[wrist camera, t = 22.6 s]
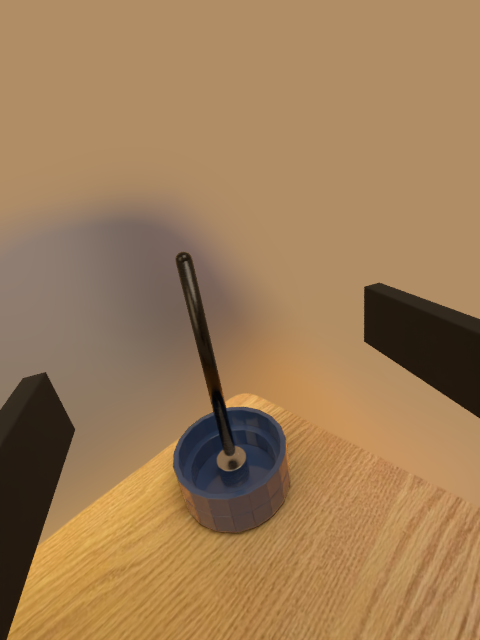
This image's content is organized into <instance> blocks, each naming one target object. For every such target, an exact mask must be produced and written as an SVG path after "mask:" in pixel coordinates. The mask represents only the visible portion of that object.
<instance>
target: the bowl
mask: <svg viewBox="0 0 480 640" xmlns="http://www.w3.org/2000/svg"><path fill="white" fill-rule="evenodd" d="M226 409H227V414H228V418H229V423H230V427H231V431H232V436H233V440H234V444H235V446H238V447H241V448H242V449H243V450H244V451H245V453H246V457H247V461H248V466H249V471H250V475H249V478H248V480H247V481H246V482H245V483H244V484H243V485H241V486H239V487H234V488H232V487H228V486H226V485H225V484H224V483H223V482H222V480H221V476H220V473H219V469H218V465H217V456H218V454H219V453H220V452H221V451H222V450H223V448H222V444H221V440H220V436H219V432H218V428H217V424H216V420H215V416H214V412H212V413H210V414H208V415H206V416H204V417H202V418H200V419H199V420H198V421H196V422H195V423H194V424H192V425H191V426H190V427H189V428H188V429H187V430H186V431H185V433H184V434H183V435H182V436H181V438H180V439H179V441H178V444H177V446H176V449H175V451H174V460H173V468H174V471H175V474H176V477H177V480H178V482H179V485H180V488H181V491H182V494H183V496H184V499H185V502H186V504H187V507H188V510H189V512H190V514H191V515H192V516H193V517H194V518H195V519H196V520H197V521H198V522H199V523H200V524H201V525H203V526H205V527H208V528H210V529H212V530H214V531H217V532H233V533H236V532H241V531H244V530H248V529H251V528H255V527H257V526H259V525H260V524H262V523H263V522H265V521H266V520H268V519H269V518H271V517H272V516H273V515H274V514H275V513H276V511H277V510H278V509H279V507H280V506H281V505H282V504H283V502H284V500H285V498H286V495H287V492H288V489H289V487H290V467H289V459H288V452H287V444H286V438H285V435H284V433H283V430H282V428H281V426H280V425H279V424H278V423H277V422H276V421H275V419H274V418H273V417H272V416H270V415H268V414H266V413H264V412H262V411H260V410H258V409H253V408H248V407H229V408H226Z"/></svg>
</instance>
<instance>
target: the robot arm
mask: <svg viewBox="0 0 480 640" xmlns="http://www.w3.org/2000/svg"><path fill="white" fill-rule="evenodd" d="M364 288H365V289H364V342H366V343H368V344H369V345H370V346H372V347H373V348H375V349H376V350H378V351H379V352H381V353H382V354H384V355H385V356H387V357H388V358H390V359H392V360H393V361H395V362H396V363H398V364H399V365H400V366H402V367H403V368H405V369H407V370H408V371H409V372H411V373H412V374H414V375H416V376H417V377H419V378H420V379H422V380H423V381H425V382H426V383H427V384H429V385H430V386H432V387H434V388H435V389H437V390H438V391H440V392H441V393H442V394H444V395H446V396H447V397H449V398H450V399H452V400H453V401H455V402H456V403H458V404H459V405H461V406H462V407H464V408H465V409H467V410H468V411H470V412H471V413H473V414H474V415H476V416H477V417H479V418H480V319H478V318H475V317H472V316H470V315H466V314H464V313H461V312H458V311H456V310H453V309H450V308H448V307H445V306H442V305H439V304H437V303H433V302H431V301H428V300H426V299H423V298H420V297H417V296H415V295H412V294H409V293H406V292H404V291H401V290H398V289H395V288H393V287H390V286H387V285H384V284H382V283H377V284H373V285H369V286H366V287H364ZM74 432H75V428H74V426H73V424H72V423H71V421H70V419H69V417H68V415H67V413H66V411H65V409H64V407H63V405H62V403H61V401H60V399H59V397H58V395H57V393H56V391H55V389H54V388H53V386H52V384H51V382H50V380H49V378H48V376H47V374H46V372H45V373H41V374H37V375H34V376H30V377H26V378H23V379H22V380H21V382H20V383H19V385H18V386H17V387H16V389H15V390H14V391H13V393H12V394H11V396H10V397H9V398H8V400H7V401H6V403H5V404H4V405H3V407H2V409H1V410H0V640H7V637H8V634H9V631H10V627H11V624H12V621H13V618H14V615H15V612H16V609H17V606H18V603H19V600H20V597H21V594H22V591H23V588H24V585H25V582H26V578H27V575H28V572H29V569H30V566H31V563H32V560H33V557H34V554H35V551H36V548H37V545H38V542H39V539H40V536H41V533H42V530H43V526H44V523H45V520H46V517H47V514H48V511H49V508H50V505H51V502H52V499H53V496H54V493H55V489H56V487H57V484H58V480H59V478H60V474H61V471H62V468H63V465H64V462H65V459H66V456H67V453H68V450H69V447H70V444H71V441H72V438H73V435H74Z"/></svg>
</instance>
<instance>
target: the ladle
mask: <svg viewBox="0 0 480 640" xmlns="http://www.w3.org/2000/svg"><path fill="white" fill-rule="evenodd" d="M176 265H177V269H178V273H179V277H180V281H181V284H182V289H183V293H184V297H185V300H186V305H187V309H188V313H189V316H190V320H191V324H192V328H193V332H194V336H195V340H196V344H197V348H198V352H199V356H200V360H201V364H202V368H203V372H204V376H205V380H206V384H207V388H208V391H209V395H210V399H211V404H212V408H213V412H214V416H215V420H216V424H217V428H218V432H219V436H220V440H221V444H222V448H223V450H222V451H221V452H220V453H219V454H218V456H217V465H218V469H219V473H220V476H221V480H222V482H223V483H224V484H225V485H226V486H228V487H232V488H234V487H239V486H241V485H243V484H244V483H245V482H246V481H247V480H248V478H249V475H250V471H249V466H248V461H247V457H246V453H245V451H244V450H243V449H242V448H241V447H238V446H235V444H234V440H233V436H232V431H231V427H230V423H229V418H228V414H227V409H226V405H225V401H224V396H223V392H222V388H221V383H220V379H219V374H218V370H217V366H216V361H215V357H214V353H213V348H212V344H211V339H210V335H209V331H208V327H207V322H206V318H205V313H204V309H203V305H202V300H201V296H200V291H199V287H198V283H197V278H196V274H195V269H194V265H193V261H192V257H191V255H190V254H189V253H187V252H180V253H179V254H177V256H176Z"/></svg>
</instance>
